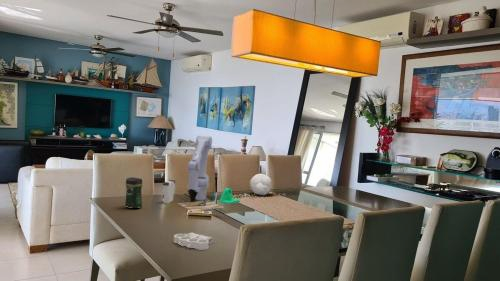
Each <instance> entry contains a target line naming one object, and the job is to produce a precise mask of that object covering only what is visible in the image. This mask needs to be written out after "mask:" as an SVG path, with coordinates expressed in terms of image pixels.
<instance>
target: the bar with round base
mask: <svg viewBox="0 0 500 281" xmlns="http://www.w3.org/2000/svg"><path fill="white" fill-rule="evenodd" d="M186 203H187V206H193V205H199V206H205V205H206V203H204V202H203V200H195V202H191V201H186Z"/></svg>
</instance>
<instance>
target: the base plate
mask: <svg viewBox="0 0 500 281" xmlns="http://www.w3.org/2000/svg"><path fill="white" fill-rule="evenodd" d="M202 201H203V202H204V203H206V205H205V206H199V205H193V206H187V202H181V203H180V202H178V203H176V204H177V205H178V206H181V207H184V208H185V209H188V210H189V211H192V212H194V211H204V210H211V209H221V208H223V206H222V205H220V204H218V203H215V202H213V201H211V200H210V199H209V198H207V197H206V198H204V199H203V200H202Z"/></svg>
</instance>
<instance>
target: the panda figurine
mask: <svg viewBox="0 0 500 281" xmlns="http://www.w3.org/2000/svg"><path fill="white" fill-rule="evenodd" d="M175 184H176V180H174V179H169V180H166V181H163V182H162V185H163V186H162V194H163V195H162V199H163V204H170V203H172V202H174V195H175V192H176V185H175Z"/></svg>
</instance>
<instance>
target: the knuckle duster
mask: <svg viewBox="0 0 500 281" xmlns="http://www.w3.org/2000/svg"><path fill="white" fill-rule="evenodd" d="M213 242H214V238H213V237H211V236H207V235H203V234H198V233H195V232H189V233H176V234H173V244H175V243H178V244H179V245H181V246H186V247H188V248H187V249H189V248H195V249H194V250H198V251H206V250H208V249H209V245H211V244H212V243H213ZM178 244H177V245H178ZM179 245H178V246H179ZM181 246H180V247H181ZM186 247H185V248H186Z"/></svg>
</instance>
